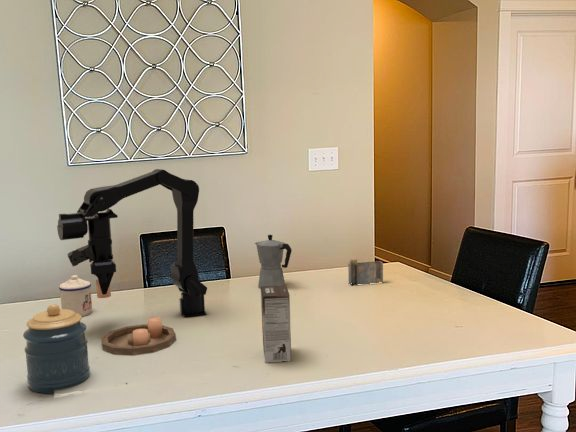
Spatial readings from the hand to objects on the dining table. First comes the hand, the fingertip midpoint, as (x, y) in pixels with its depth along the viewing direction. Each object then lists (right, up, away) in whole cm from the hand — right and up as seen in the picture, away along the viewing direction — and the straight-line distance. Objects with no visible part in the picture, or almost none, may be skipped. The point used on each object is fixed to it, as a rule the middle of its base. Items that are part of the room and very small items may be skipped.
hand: (104, 292), depth 171 cm
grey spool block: (+76, -3, +44) cm, 88 cm away
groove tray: (+12, -12, -10) cm, 20 cm away
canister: (0, -16, -32) cm, 36 cm away
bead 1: (0, -1, 0) cm, 1 cm away
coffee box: (+47, -13, -20) cm, 53 cm away
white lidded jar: (-14, -9, +20) cm, 26 cm away
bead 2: (+14, -12, -15) cm, 24 cm away
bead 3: (+15, -11, -6) cm, 20 cm away
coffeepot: (+45, -4, +42) cm, 62 cm away
